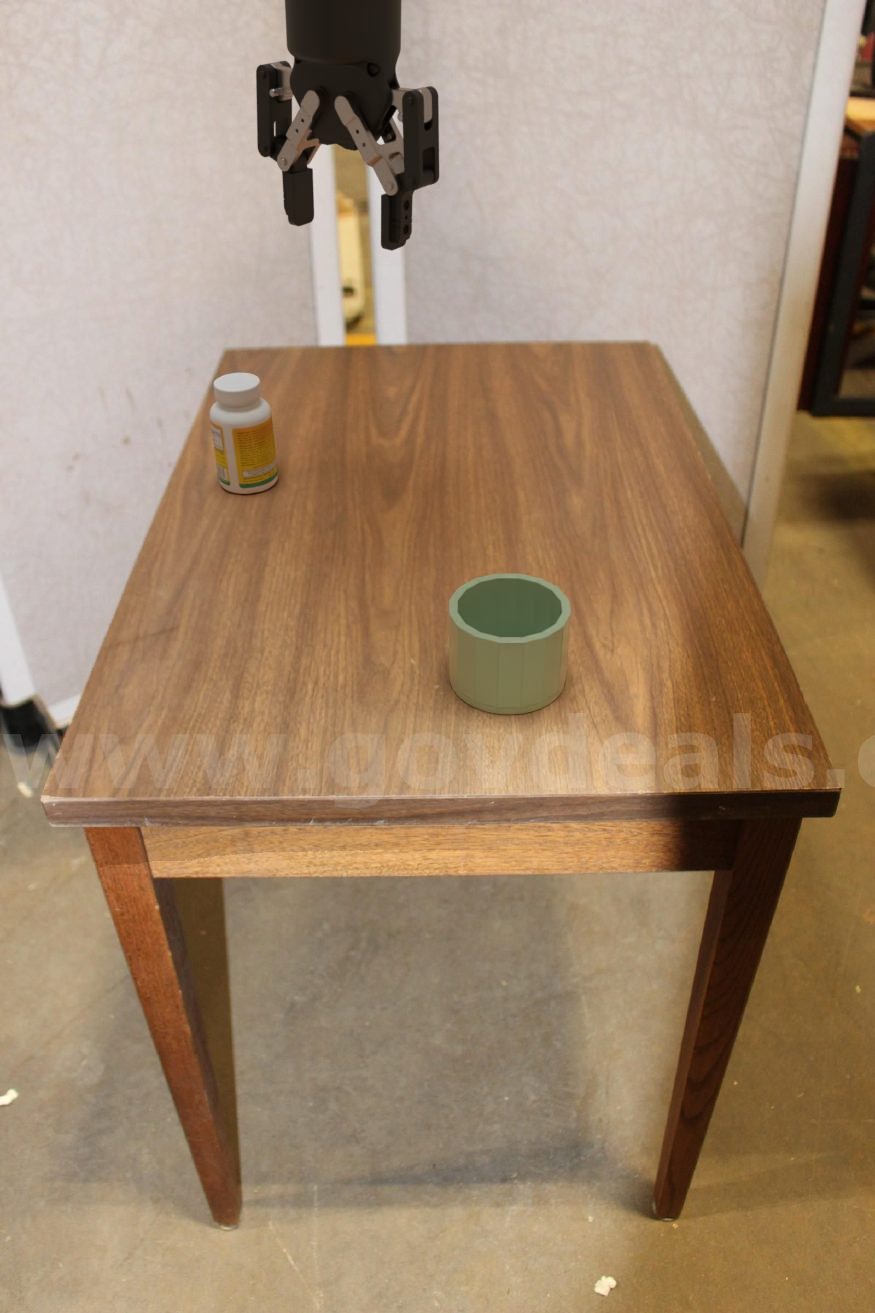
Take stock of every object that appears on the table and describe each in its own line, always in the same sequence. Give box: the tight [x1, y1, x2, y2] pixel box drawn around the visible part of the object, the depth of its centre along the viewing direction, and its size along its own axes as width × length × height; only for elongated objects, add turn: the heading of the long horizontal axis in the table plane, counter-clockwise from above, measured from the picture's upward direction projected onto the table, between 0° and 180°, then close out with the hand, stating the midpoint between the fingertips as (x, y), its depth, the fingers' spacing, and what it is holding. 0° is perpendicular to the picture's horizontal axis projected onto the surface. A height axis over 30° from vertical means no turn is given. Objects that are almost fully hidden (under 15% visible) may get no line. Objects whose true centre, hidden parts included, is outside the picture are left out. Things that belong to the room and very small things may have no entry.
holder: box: [448, 572, 572, 716], centre depth 72 cm, size 8×8×6 cm
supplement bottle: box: [209, 372, 279, 495], centre depth 94 cm, size 5×5×10 cm
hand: (346, 235), depth 78 cm, fingers open, 8 cm apart
